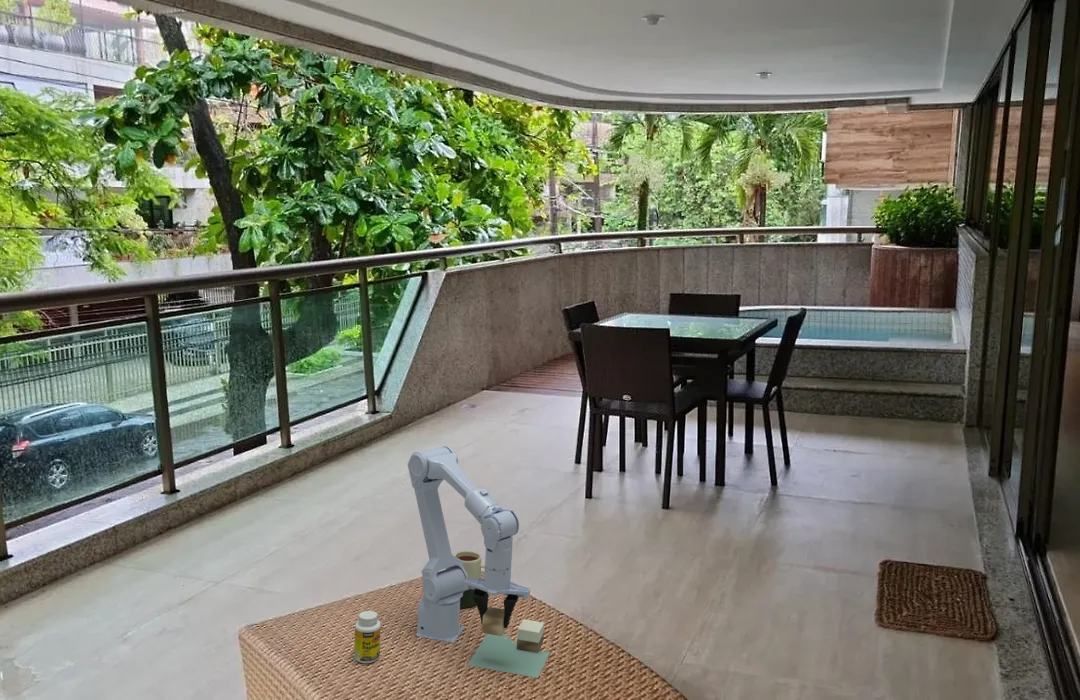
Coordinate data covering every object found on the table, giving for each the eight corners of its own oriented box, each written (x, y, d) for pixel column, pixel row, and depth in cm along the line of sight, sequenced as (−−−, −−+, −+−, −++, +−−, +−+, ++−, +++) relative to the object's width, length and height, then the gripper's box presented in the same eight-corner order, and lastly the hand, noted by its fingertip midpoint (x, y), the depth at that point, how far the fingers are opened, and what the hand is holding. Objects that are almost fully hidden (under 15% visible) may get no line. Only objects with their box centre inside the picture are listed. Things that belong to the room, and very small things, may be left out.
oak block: (481, 632, 184) (482, 615, 184) (488, 623, 189) (488, 606, 188) (501, 636, 183) (502, 619, 183) (507, 626, 187) (508, 609, 187)
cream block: (517, 639, 193) (517, 629, 192) (522, 629, 197) (523, 619, 197) (538, 642, 191) (539, 632, 191) (543, 632, 196) (544, 622, 196)
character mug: (489, 600, 217) (491, 552, 215) (483, 613, 210) (486, 563, 208) (448, 595, 219) (449, 548, 217) (441, 608, 212) (443, 559, 210)
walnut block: (516, 649, 193) (517, 639, 193) (522, 639, 198) (522, 629, 197) (537, 653, 192) (538, 642, 191) (543, 642, 197) (543, 632, 196)
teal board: (467, 666, 185) (467, 664, 185) (489, 632, 201) (489, 631, 201) (537, 679, 182) (537, 677, 182) (554, 644, 197) (554, 642, 197)
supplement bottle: (359, 667, 183) (360, 622, 181) (350, 655, 187) (351, 612, 186) (383, 660, 186) (385, 617, 184) (374, 649, 190) (375, 606, 189)
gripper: (460, 567, 181) (457, 626, 183) (525, 578, 178) (522, 638, 180) (470, 555, 188) (468, 612, 190) (533, 565, 185) (530, 623, 187)
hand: (495, 624), depth 186 cm, fingers closed on oak block, 4 cm apart
